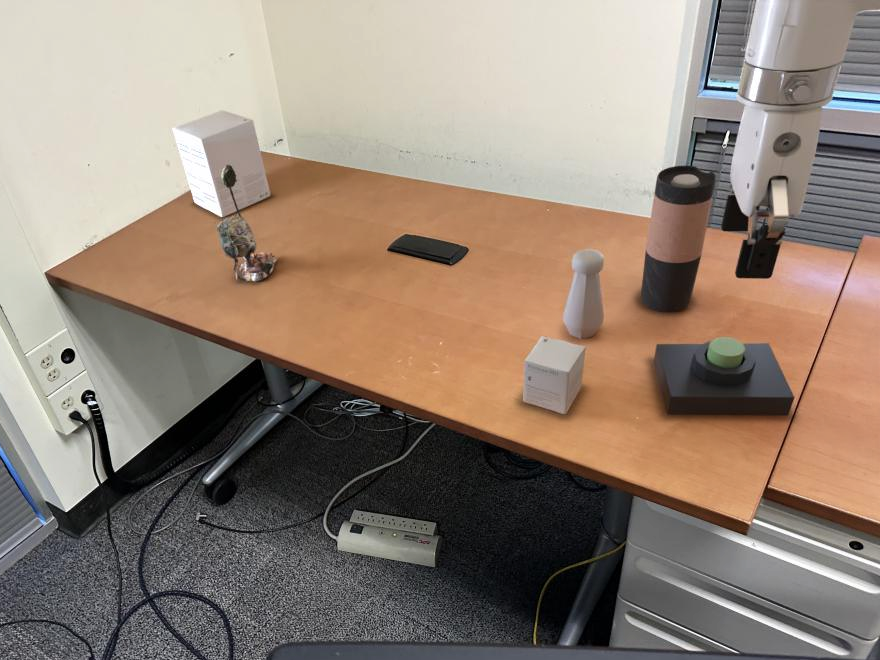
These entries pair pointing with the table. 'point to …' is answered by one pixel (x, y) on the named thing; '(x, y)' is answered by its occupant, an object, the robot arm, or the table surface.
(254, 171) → the supplement box
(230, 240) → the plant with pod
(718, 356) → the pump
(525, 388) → the product box
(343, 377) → the table surface
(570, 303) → the salt shaker
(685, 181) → the travel mug
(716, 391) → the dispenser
